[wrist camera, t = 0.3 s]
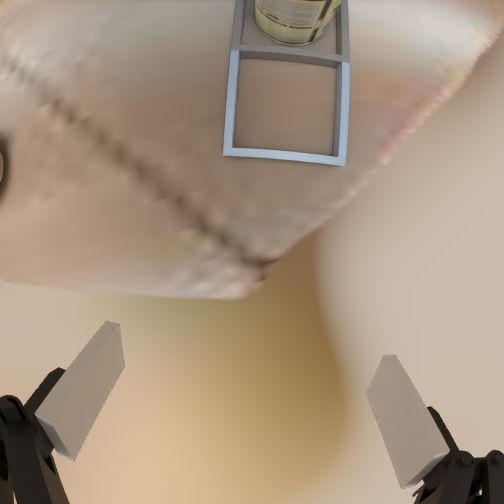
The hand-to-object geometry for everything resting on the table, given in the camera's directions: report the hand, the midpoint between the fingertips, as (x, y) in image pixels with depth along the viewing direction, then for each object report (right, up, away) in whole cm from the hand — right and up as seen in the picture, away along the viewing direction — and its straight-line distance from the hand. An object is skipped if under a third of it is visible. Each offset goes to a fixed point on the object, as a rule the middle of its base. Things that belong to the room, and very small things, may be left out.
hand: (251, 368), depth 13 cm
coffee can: (+5, +38, +17) cm, 42 cm away
